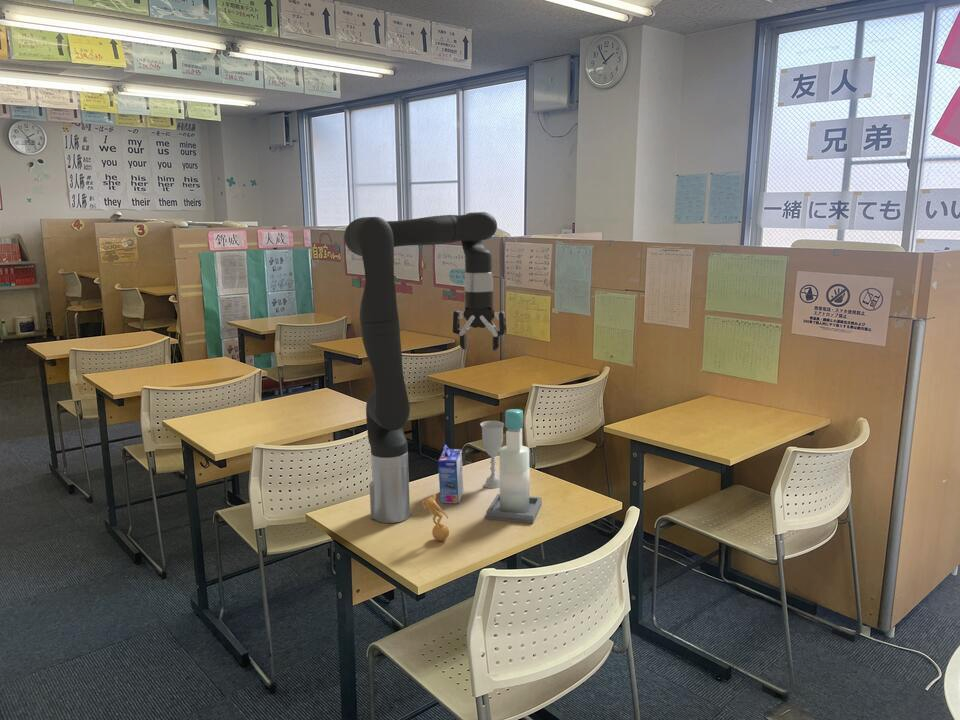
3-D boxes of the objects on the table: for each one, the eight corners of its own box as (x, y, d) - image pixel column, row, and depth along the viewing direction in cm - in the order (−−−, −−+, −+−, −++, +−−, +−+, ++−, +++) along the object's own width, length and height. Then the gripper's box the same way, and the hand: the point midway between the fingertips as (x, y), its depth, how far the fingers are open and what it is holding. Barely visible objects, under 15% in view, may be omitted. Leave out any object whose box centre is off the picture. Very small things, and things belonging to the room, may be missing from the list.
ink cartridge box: (444, 489, 196) (443, 440, 194) (463, 490, 196) (462, 440, 193) (438, 503, 187) (437, 451, 184) (459, 504, 186) (458, 452, 183)
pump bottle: (486, 518, 177) (485, 435, 172) (497, 500, 188) (496, 422, 184) (533, 523, 174) (533, 438, 169) (541, 504, 185) (541, 424, 181)
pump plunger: (503, 450, 176) (503, 413, 174) (507, 445, 180) (507, 408, 178) (521, 451, 175) (520, 414, 173) (524, 446, 179) (524, 409, 177)
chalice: (478, 481, 202) (477, 421, 199) (501, 479, 204) (500, 419, 200) (484, 490, 195) (483, 428, 192) (508, 488, 197) (507, 426, 193)
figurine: (459, 542, 164) (457, 494, 161) (440, 551, 160) (438, 501, 157) (435, 532, 169) (433, 485, 167) (416, 540, 165) (414, 492, 163)
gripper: (448, 290, 183) (450, 351, 186) (501, 291, 179) (502, 353, 182) (457, 287, 190) (458, 346, 193) (508, 288, 186) (508, 348, 189)
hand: (479, 349), depth 188 cm, fingers open, 8 cm apart
